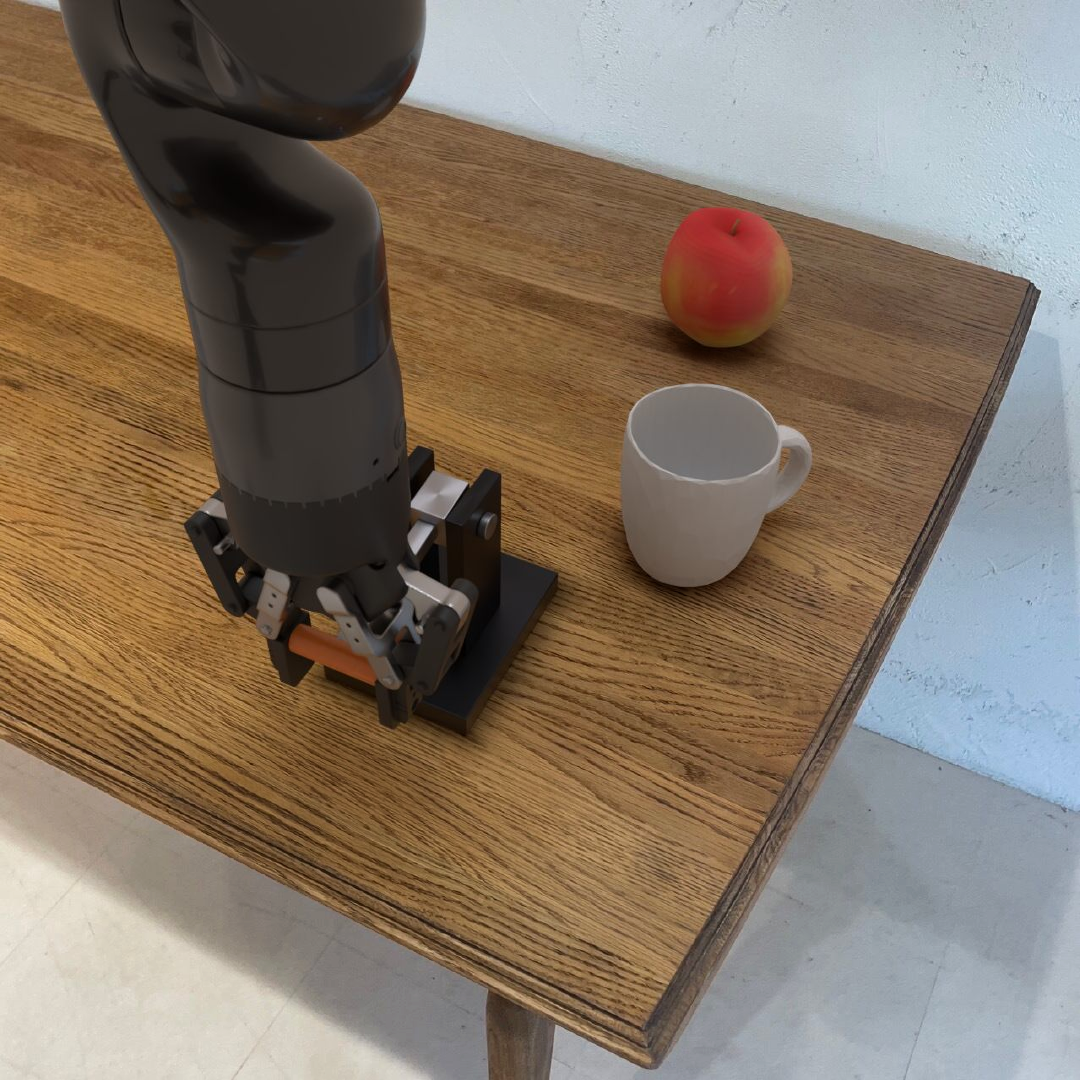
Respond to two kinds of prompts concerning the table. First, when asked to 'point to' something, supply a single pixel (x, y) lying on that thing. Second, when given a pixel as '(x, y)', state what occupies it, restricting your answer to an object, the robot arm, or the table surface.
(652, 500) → the mug
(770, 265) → the apple
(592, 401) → the table surface
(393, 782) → the table surface
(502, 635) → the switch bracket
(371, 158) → the table surface
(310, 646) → the switch
